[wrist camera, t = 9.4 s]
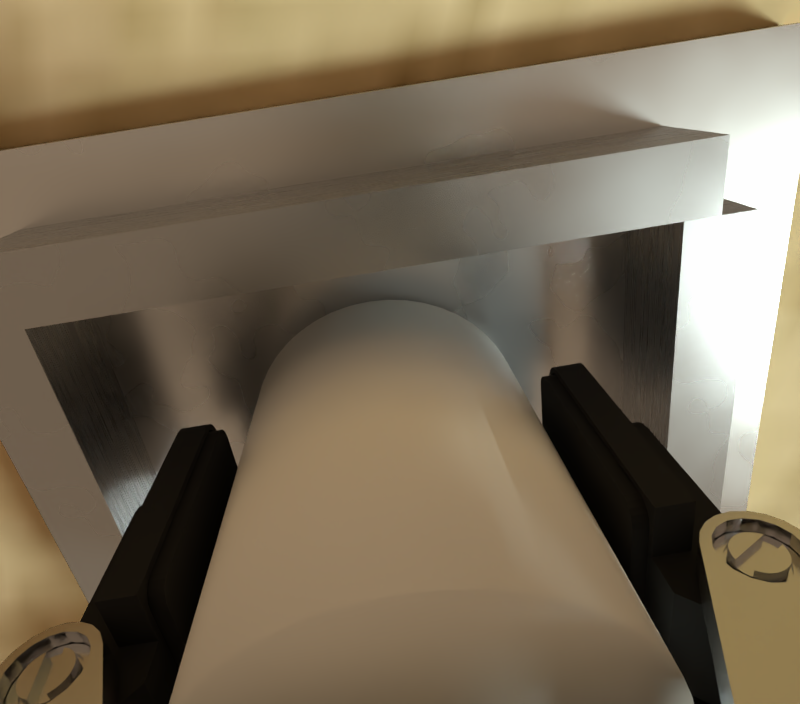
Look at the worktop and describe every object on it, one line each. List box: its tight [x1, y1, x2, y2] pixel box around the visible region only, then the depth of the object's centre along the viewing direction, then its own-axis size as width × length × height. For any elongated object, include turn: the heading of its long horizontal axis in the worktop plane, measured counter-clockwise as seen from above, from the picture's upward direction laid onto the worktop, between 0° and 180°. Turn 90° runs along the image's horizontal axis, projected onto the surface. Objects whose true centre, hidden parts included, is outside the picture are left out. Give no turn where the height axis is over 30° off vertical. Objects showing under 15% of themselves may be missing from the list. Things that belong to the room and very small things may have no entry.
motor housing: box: [0, 23, 800, 603], centre depth 11 cm, size 19×15×8 cm
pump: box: [169, 300, 694, 704], centre depth 9 cm, size 6×6×8 cm
